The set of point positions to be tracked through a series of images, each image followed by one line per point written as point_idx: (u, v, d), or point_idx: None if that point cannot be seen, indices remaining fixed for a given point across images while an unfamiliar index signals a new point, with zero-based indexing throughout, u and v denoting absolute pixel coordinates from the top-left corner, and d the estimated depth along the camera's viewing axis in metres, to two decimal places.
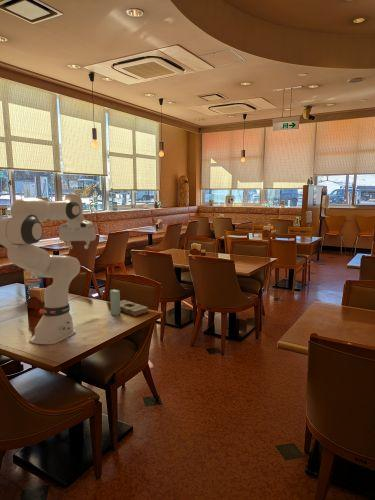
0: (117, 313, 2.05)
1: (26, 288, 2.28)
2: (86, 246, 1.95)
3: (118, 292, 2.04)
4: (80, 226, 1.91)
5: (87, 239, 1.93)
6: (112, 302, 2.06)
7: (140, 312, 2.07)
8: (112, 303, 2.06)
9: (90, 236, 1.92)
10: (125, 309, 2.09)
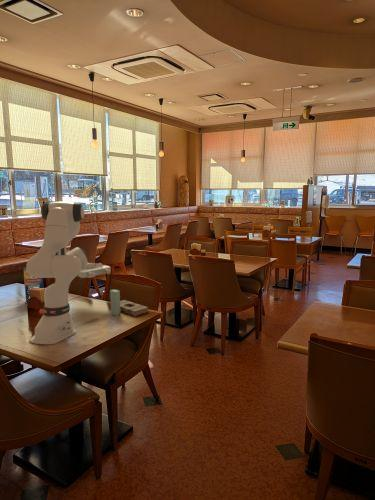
0: (117, 313, 2.05)
1: (26, 288, 2.28)
2: (107, 270, 2.17)
3: (118, 292, 2.04)
4: (95, 263, 2.24)
5: (106, 267, 2.21)
6: (112, 302, 2.06)
7: (140, 312, 2.07)
8: (112, 303, 2.06)
9: (107, 266, 2.23)
10: (125, 309, 2.09)
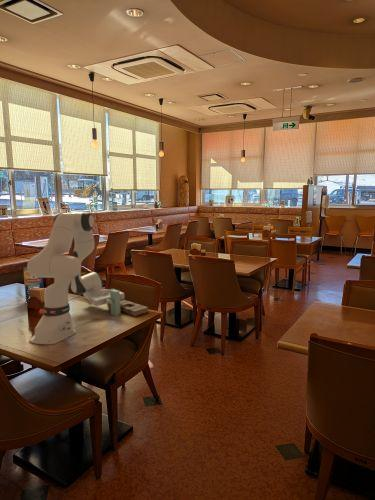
0: (117, 313, 2.05)
1: (26, 288, 2.28)
2: None
3: (118, 292, 2.04)
4: (109, 289, 2.17)
5: None
6: None
7: (140, 312, 2.07)
8: (112, 303, 2.06)
9: (120, 292, 2.17)
10: (125, 309, 2.09)
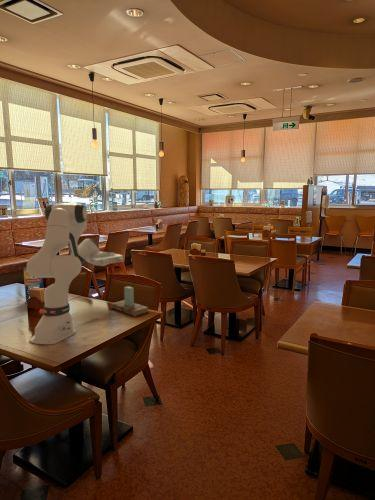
0: None
1: (26, 288, 2.28)
2: (121, 258, 2.23)
3: (132, 289, 2.12)
4: (108, 252, 2.30)
5: (118, 256, 2.27)
6: (126, 298, 2.13)
7: (140, 312, 2.07)
8: (126, 299, 2.13)
9: (119, 255, 2.30)
10: (125, 309, 2.09)
